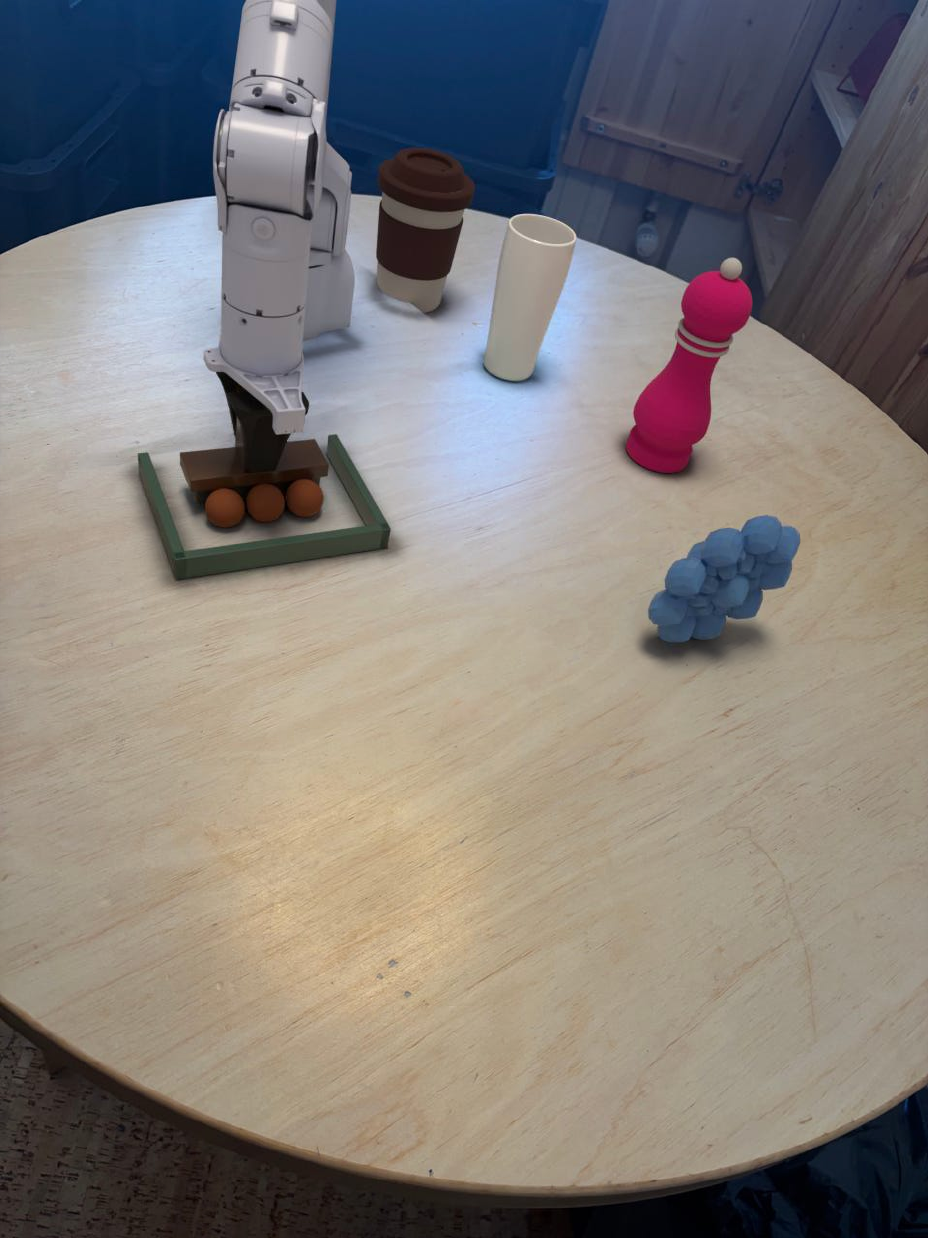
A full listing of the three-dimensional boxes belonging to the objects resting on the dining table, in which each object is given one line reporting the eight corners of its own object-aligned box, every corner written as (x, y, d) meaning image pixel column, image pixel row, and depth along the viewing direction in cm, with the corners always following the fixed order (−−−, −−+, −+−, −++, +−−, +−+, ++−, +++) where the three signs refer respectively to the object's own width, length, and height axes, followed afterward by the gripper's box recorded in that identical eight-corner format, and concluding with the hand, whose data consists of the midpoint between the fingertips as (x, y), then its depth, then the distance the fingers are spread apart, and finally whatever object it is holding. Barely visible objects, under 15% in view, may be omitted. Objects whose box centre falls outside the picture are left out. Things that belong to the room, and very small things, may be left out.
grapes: (725, 589, 80) (786, 476, 72) (770, 647, 76) (840, 533, 68) (608, 607, 76) (658, 488, 68) (649, 670, 72) (708, 551, 63)
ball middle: (269, 487, 77) (275, 471, 74) (287, 519, 77) (294, 504, 74) (236, 501, 76) (241, 485, 73) (255, 533, 75) (261, 518, 73)
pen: (138, 473, 76) (137, 452, 75) (334, 452, 83) (336, 433, 82) (175, 580, 69) (175, 559, 67) (387, 547, 76) (391, 528, 74)
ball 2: (307, 482, 78) (315, 467, 75) (325, 513, 78) (334, 499, 75) (275, 496, 77) (282, 481, 74) (293, 527, 77) (301, 514, 74)
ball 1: (230, 492, 76) (235, 476, 73) (249, 524, 75) (254, 509, 73) (196, 506, 74) (199, 490, 72) (214, 539, 74) (219, 523, 71)
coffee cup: (350, 278, 107) (366, 138, 96) (430, 276, 111) (454, 142, 101) (382, 323, 101) (403, 180, 91) (465, 319, 105) (494, 182, 95)
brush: (180, 479, 76) (177, 385, 70) (312, 464, 80) (321, 374, 74) (191, 508, 74) (189, 413, 68) (326, 491, 78) (336, 400, 72)
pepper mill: (690, 485, 91) (778, 288, 77) (617, 464, 91) (692, 263, 77) (692, 444, 96) (775, 253, 82) (623, 425, 96) (694, 231, 82)
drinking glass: (540, 360, 102) (578, 223, 91) (537, 393, 97) (577, 251, 87) (478, 346, 101) (510, 206, 91) (472, 378, 97) (505, 234, 86)
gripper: (180, 247, 68) (182, 408, 78) (234, 355, 60) (230, 522, 69) (276, 247, 71) (267, 402, 80) (341, 349, 63) (322, 510, 72)
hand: (256, 457), depth 75 cm, fingers closed on brush, 2 cm apart
